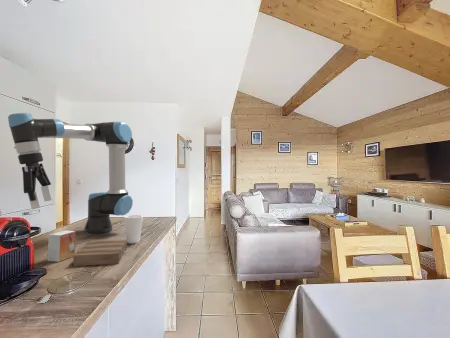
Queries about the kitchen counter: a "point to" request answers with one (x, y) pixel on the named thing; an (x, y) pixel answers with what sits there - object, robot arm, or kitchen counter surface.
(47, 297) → the butter knife
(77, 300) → the kitchen counter surface
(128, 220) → the foam cup
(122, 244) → the walnut plinth
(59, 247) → the small box
